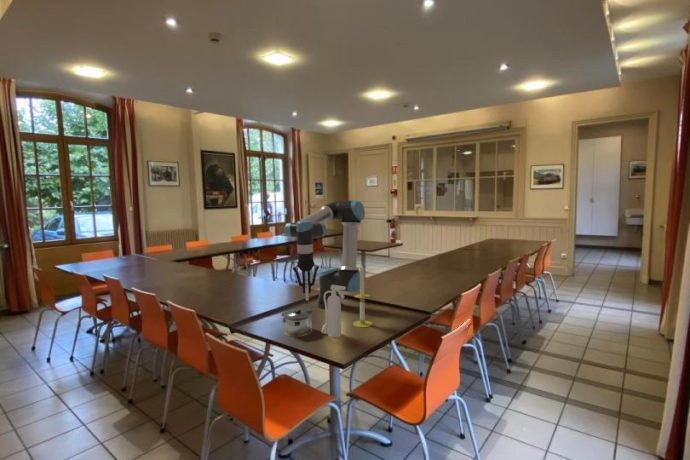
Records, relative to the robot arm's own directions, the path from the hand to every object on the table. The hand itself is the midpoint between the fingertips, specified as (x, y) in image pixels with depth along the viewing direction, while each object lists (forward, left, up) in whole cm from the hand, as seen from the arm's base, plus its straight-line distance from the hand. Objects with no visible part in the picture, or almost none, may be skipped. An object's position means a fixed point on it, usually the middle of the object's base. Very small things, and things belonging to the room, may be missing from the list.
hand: (307, 299), depth 178 cm
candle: (-28, -7, -17) cm, 33 cm away
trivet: (+5, 0, -16) cm, 17 cm away
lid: (+5, 0, -7) cm, 9 cm away
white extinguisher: (-12, +7, -17) cm, 22 cm away
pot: (+5, 0, -16) cm, 16 cm away
